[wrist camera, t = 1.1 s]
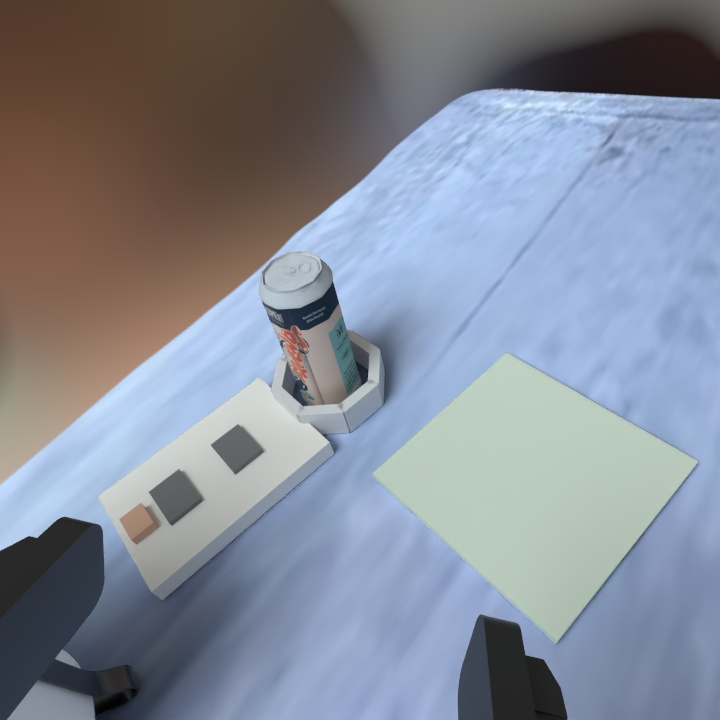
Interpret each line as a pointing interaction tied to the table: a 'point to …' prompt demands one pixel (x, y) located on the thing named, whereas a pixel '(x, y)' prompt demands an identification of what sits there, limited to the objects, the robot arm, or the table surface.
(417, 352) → the table surface
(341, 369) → the beer can
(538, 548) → the sage mat
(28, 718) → the coffee press
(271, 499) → the charging dock
